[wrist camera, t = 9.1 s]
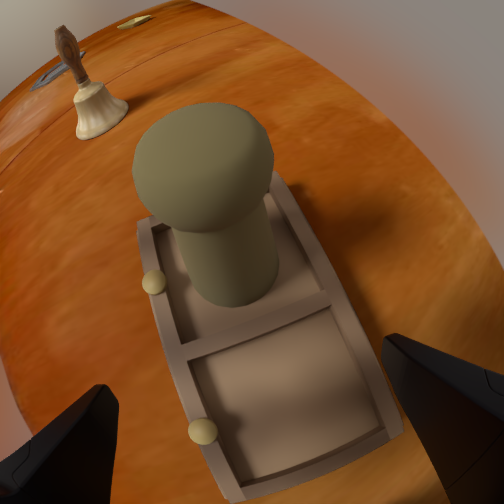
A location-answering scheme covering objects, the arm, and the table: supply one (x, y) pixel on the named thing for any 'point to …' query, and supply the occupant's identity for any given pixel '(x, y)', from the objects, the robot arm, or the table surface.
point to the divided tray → (270, 363)
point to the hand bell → (88, 92)
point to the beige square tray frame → (134, 22)
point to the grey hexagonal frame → (52, 74)
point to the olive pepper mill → (213, 197)
